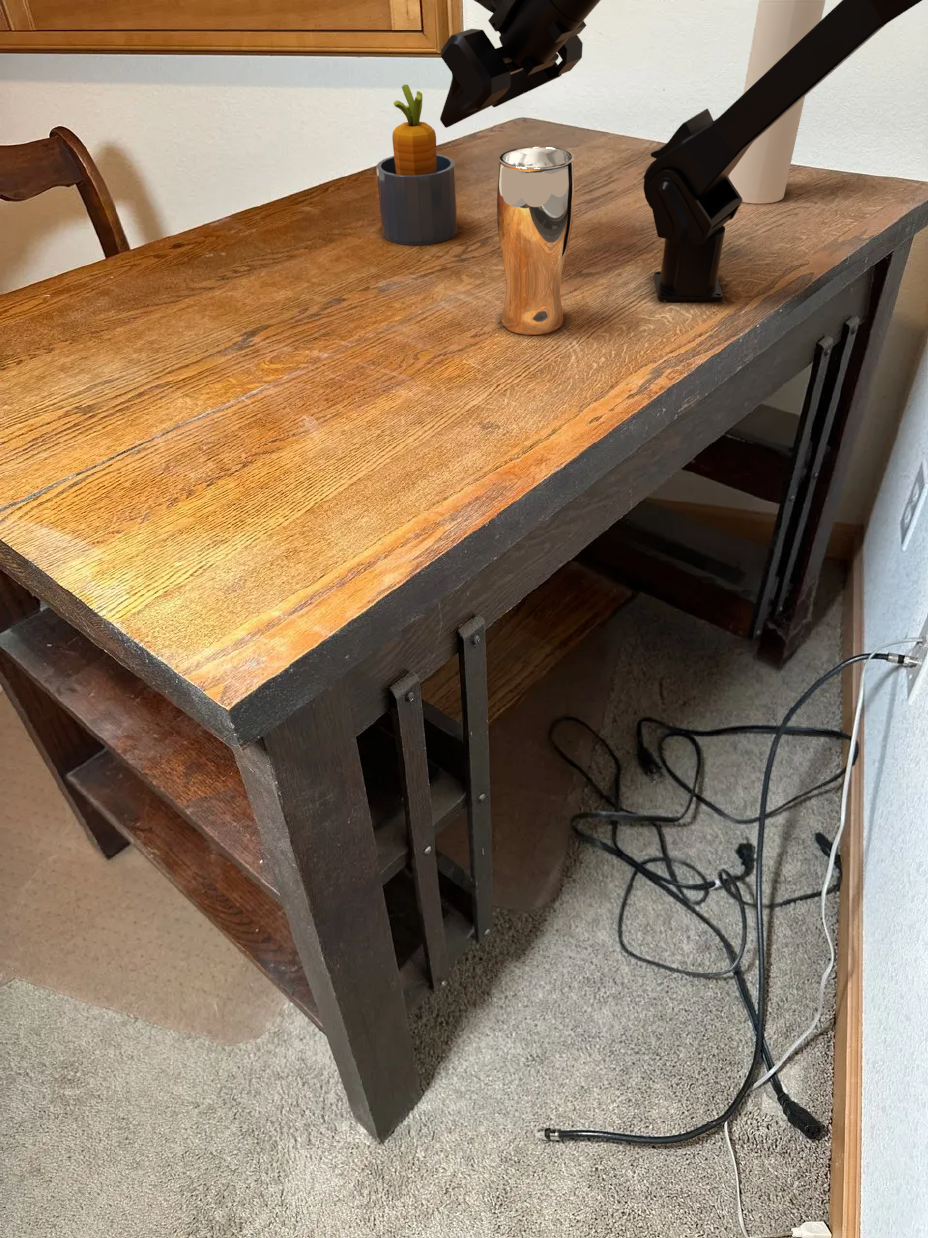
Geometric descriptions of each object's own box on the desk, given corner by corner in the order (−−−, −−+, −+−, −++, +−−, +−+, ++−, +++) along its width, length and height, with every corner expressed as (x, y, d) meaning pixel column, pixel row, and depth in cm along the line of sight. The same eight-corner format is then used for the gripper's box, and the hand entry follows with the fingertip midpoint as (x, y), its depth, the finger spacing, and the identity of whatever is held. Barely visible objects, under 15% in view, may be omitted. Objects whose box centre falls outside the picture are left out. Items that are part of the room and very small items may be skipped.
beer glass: (567, 307, 88) (576, 144, 78) (567, 338, 83) (576, 168, 73) (499, 306, 89) (499, 145, 79) (494, 336, 84) (494, 168, 74)
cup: (453, 245, 102) (451, 176, 97) (377, 245, 102) (371, 176, 97) (459, 218, 108) (457, 152, 103) (388, 218, 109) (382, 152, 104)
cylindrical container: (785, 204, 109) (839, -46, 92) (726, 202, 110) (769, -46, 93) (782, 186, 114) (832, -55, 97) (726, 184, 115) (766, -54, 98)
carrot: (439, 235, 103) (432, 91, 93) (397, 236, 103) (386, 92, 93) (440, 220, 107) (434, 80, 97) (400, 221, 107) (390, 81, 97)
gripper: (562, -96, 85) (471, 29, 97) (454, -77, 74) (366, 63, 86) (627, 7, 87) (530, 117, 99) (531, 41, 76) (435, 161, 88)
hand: (468, 112), depth 93 cm, fingers open, 9 cm apart
